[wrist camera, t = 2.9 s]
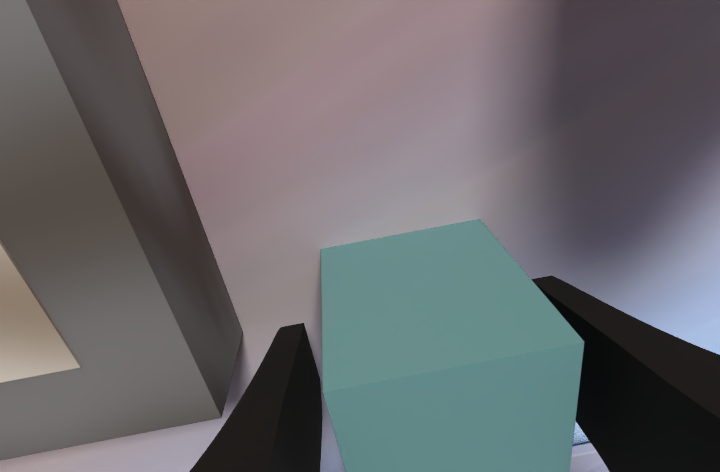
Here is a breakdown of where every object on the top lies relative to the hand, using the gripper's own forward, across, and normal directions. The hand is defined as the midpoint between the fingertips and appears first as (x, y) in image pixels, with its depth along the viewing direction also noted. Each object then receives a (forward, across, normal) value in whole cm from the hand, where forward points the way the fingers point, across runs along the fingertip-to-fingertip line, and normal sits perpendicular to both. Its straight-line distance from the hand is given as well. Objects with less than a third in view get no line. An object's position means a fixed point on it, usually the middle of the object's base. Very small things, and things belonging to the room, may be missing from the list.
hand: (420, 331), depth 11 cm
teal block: (+2, 0, 0) cm, 2 cm away
